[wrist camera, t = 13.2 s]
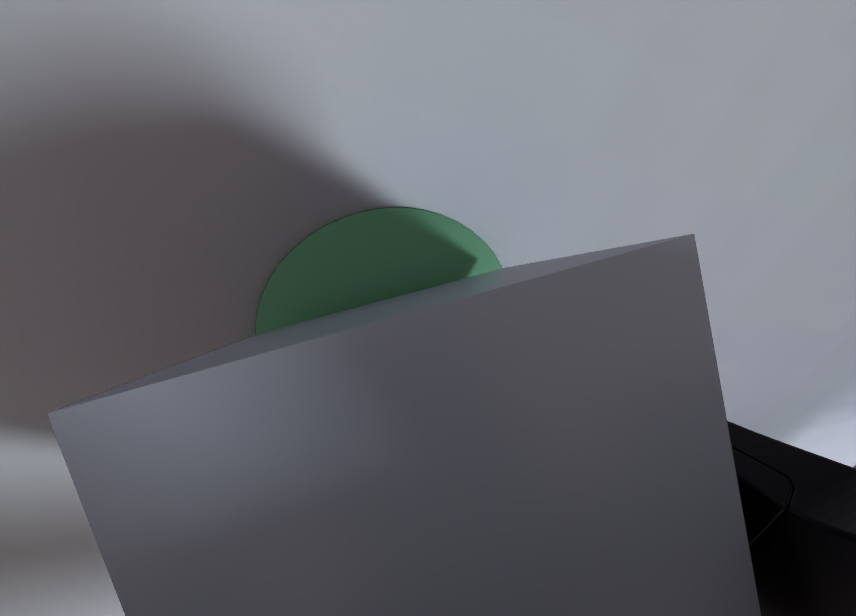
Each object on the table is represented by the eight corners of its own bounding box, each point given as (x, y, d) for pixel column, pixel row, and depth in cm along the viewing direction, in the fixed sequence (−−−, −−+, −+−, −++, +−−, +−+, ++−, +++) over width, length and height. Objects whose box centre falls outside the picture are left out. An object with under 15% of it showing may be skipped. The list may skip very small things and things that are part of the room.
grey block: (552, 480, 11) (777, 709, 5) (335, 567, 10) (281, 1015, 4) (502, 268, 11) (694, 233, 4) (261, 332, 9) (46, 413, 3)
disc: (507, 381, 15) (509, 384, 15) (311, 447, 13) (311, 451, 13) (507, 179, 10) (510, 180, 10) (197, 247, 8) (195, 250, 8)
